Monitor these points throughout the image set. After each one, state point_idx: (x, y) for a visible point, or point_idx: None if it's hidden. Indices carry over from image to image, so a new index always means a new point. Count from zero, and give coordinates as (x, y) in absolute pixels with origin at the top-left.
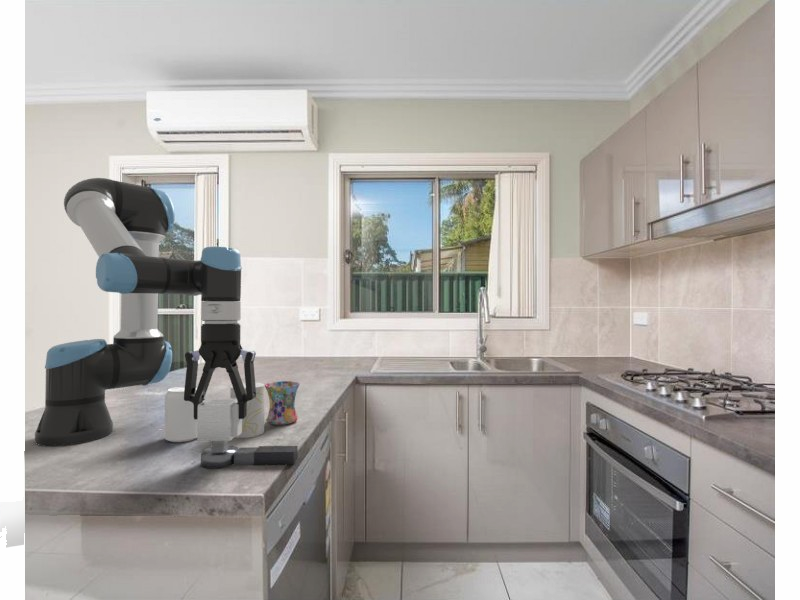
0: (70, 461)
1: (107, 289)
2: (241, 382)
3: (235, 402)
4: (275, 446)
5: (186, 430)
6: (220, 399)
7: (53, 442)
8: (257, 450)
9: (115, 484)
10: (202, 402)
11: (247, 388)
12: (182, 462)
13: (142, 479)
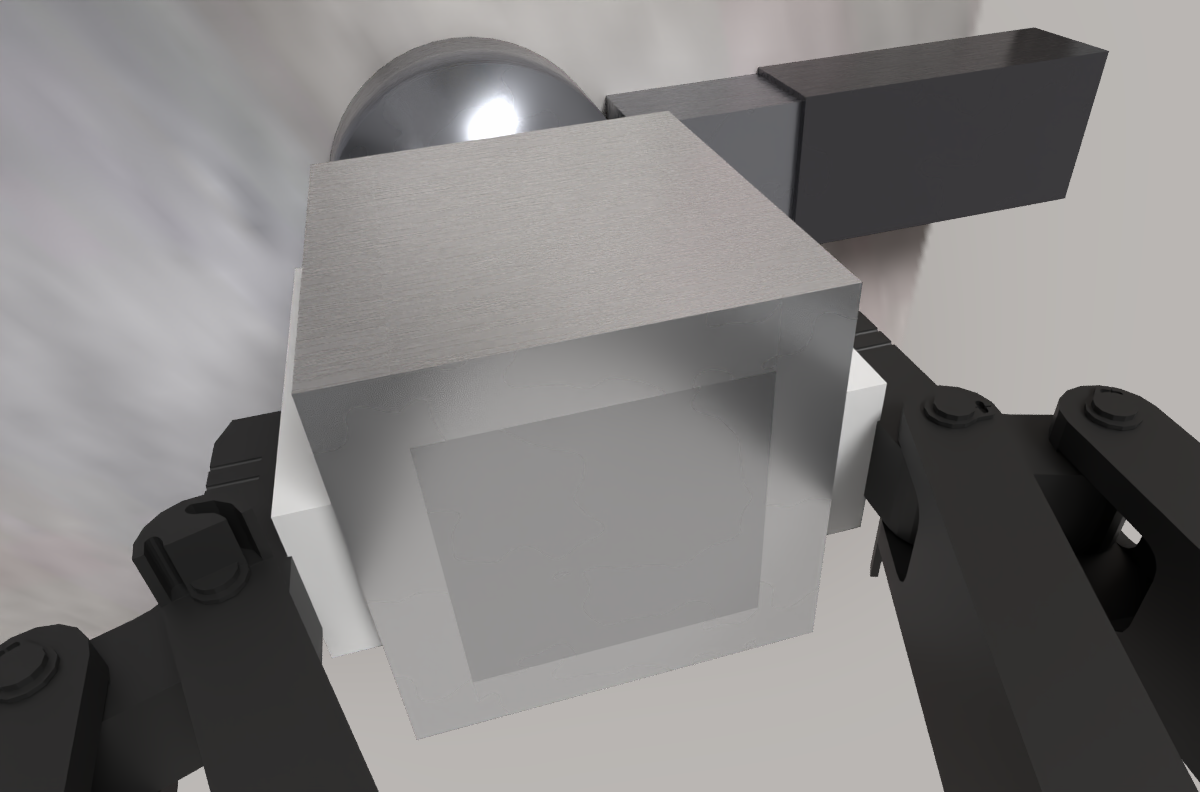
0: None
1: None
2: (1102, 663)
3: (827, 503)
4: (938, 90)
5: None
6: (523, 411)
7: None
8: (810, 206)
9: (44, 591)
10: (292, 560)
11: (1130, 660)
12: (148, 225)
13: (144, 513)
